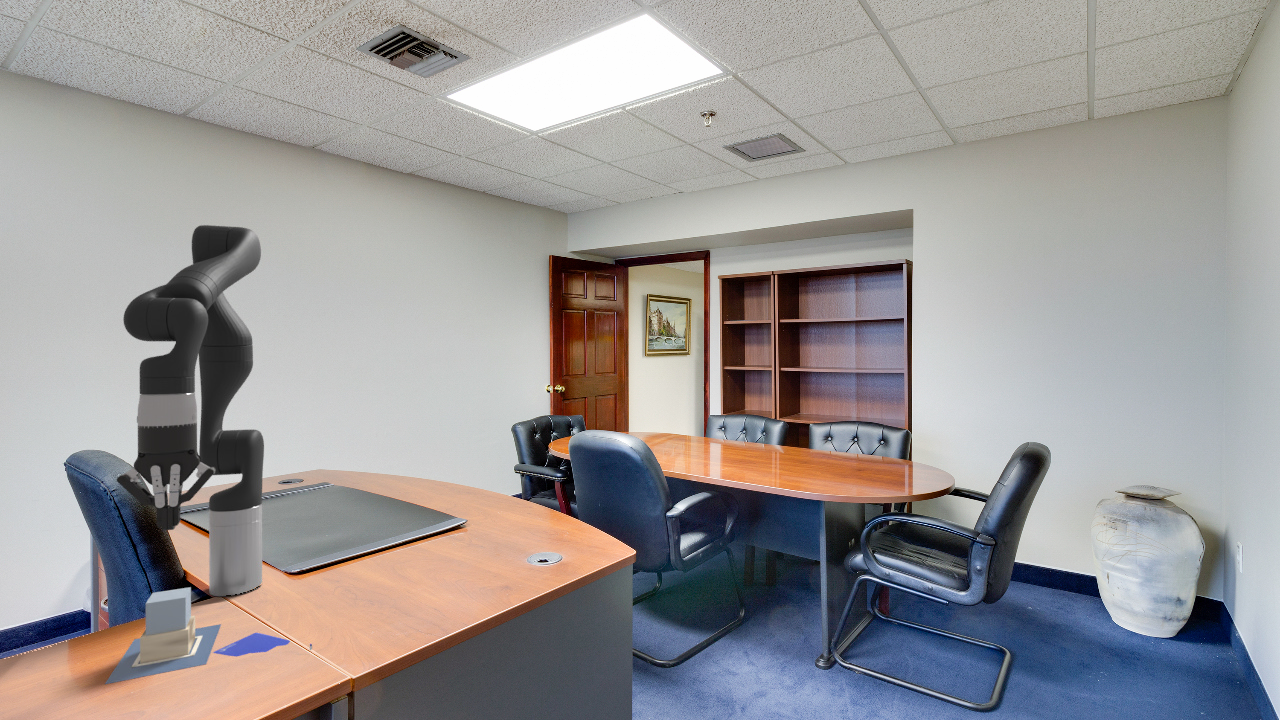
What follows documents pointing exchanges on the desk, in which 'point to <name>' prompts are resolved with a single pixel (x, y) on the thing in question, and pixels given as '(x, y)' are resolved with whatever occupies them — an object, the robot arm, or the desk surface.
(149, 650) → the maple base block
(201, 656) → the board
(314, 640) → the desk surface
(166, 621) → the slate block
